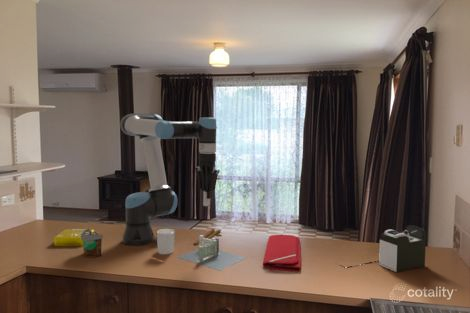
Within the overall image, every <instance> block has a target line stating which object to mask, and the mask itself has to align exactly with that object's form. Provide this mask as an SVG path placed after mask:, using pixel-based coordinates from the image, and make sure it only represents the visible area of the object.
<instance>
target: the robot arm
mask: <svg viewBox="0 0 470 313" xmlns="http://www.w3.org/2000/svg"><path fill="white" fill-rule="evenodd" d="M119 126H120V129H121V131H122V132H123V133H124V134H125V135H128V136H132V137H139V141H140V142H141V143H142V144H143V149H144V156H145V161H146V168H147V174H148V180H149V185H150V188H149V189H148V192H147V191H140V192H134V193H131V194H128V196H126V198H125V204H124V207H125V228H124V232H123V235H122V243H123V244H125V245H130V246H140V245H142V246H143V245H146V244H150V243H152V242H154V240H155V234H154V231H153V229H152V225H151V218H155V217H160V216H166V215H170V214H172V213H174V212H175V211H176V208H177V207H178V196H177V194H176V193H175V191H174V190H172V188H171V186H169V185H168V182H167V175H166V170H165V164H164V158H163V152H162V146H161V139H162V140H169V139H170V140H171V139H172V140H173V139H175V140H176V139H198V152H199V153H198V161H199V164H198V166H195V168H194V170H195V173H196V177H197V184H198V189H199V190H201V191H202V199H203V201H202V202H203V203H202V204H203V206H204V207H208V206H210V205H211V198H212V191H215V189H216V185H217V181H218V176H219V173H221V172H220V169H217V168H216V160H217V153H216V152H217V120H216V118H215V117H199V119H198V121H192V120H190V121H189V120H187V121H180V120H179V121H175V120H174V121H172V120H164V119H163V118H162V117H161V116H160V115H159V114H157V113H128V114H126V115H124V116H123V117H122V118H121V120H120V125H119Z"/></svg>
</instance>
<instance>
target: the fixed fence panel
mask: <svg viewBox="0 0 470 313" xmlns="http://www.w3.org/2000/svg"><path fill="white" fill-rule="evenodd" d="M198 240H199V244H198V245H199V246H204V245H205V246H207V244H210V243H212V241H213V240H216V238H215V237H212V238H211V239H207V237H206V238H204V235H203V234H201V235H199V238H198ZM199 246H198V247H199ZM206 251H207V249H206ZM209 251H210V248H209Z"/></svg>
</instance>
